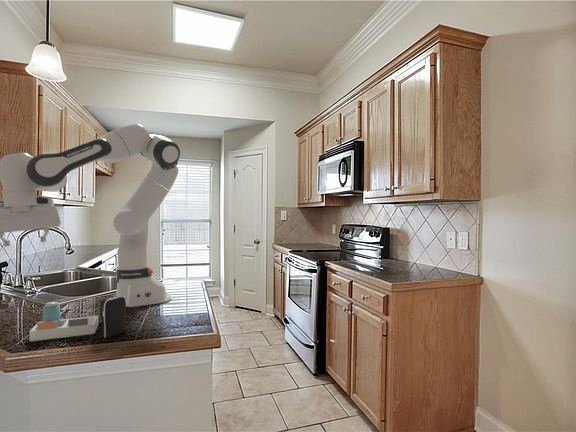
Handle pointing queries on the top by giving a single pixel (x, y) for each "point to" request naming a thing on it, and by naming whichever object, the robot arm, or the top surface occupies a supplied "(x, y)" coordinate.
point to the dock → (64, 328)
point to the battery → (113, 316)
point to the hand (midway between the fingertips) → (25, 244)
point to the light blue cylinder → (51, 312)
